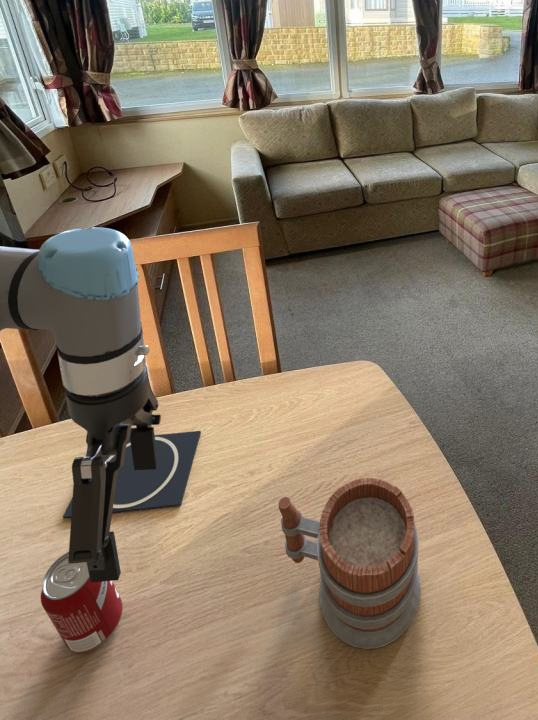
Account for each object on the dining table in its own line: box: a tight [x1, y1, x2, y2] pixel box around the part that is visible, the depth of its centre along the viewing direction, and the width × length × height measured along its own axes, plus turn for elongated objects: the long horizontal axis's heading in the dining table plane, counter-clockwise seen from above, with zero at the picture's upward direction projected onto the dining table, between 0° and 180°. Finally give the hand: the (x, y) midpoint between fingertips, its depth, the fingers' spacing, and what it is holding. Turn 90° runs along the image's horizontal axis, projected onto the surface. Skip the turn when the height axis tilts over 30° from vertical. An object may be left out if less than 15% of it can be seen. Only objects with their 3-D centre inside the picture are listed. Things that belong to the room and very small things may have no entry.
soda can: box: [40, 551, 123, 654], centre depth 61 cm, size 7×7×12 cm
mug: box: [277, 477, 422, 650], centre depth 65 cm, size 14×19×15 cm
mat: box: [62, 430, 202, 520], centre depth 83 cm, size 18×14×1 cm
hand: (128, 516), depth 58 cm, fingers open, 13 cm apart
